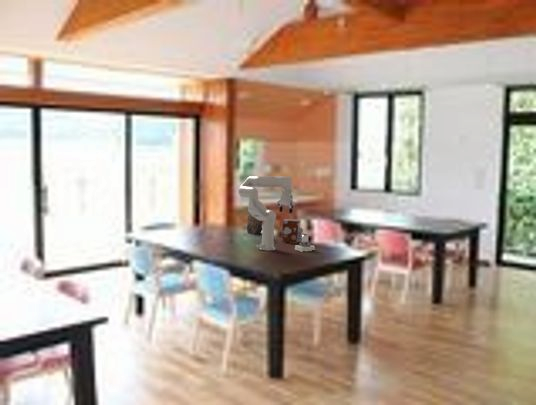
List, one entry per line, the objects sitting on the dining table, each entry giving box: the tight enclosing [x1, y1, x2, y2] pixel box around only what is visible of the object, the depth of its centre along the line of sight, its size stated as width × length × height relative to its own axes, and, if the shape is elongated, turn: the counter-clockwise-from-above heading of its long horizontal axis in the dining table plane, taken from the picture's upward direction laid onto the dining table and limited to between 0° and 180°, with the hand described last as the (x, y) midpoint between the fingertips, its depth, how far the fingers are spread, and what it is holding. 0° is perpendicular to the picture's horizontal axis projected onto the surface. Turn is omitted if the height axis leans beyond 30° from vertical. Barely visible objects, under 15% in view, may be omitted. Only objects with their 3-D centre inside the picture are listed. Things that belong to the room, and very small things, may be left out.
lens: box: [301, 233, 309, 244], centre depth 451 cm, size 5×5×9 cm
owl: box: [246, 212, 264, 236], centre depth 527 cm, size 13×13×20 cm
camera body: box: [294, 242, 316, 253], centre depth 451 cm, size 13×9×6 cm
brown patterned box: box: [281, 218, 305, 244], centre depth 485 cm, size 9×19×20 cm, turn 78°
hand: (285, 212), depth 462 cm, fingers open, 9 cm apart
